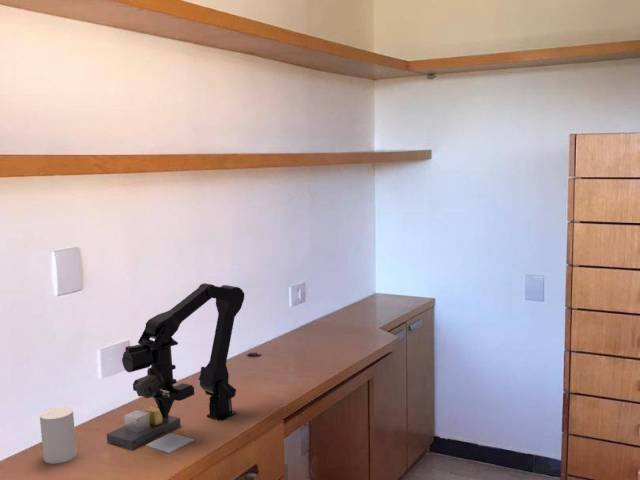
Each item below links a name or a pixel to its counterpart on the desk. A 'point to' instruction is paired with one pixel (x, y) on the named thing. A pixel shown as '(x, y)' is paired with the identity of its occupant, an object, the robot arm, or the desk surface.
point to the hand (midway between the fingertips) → (165, 417)
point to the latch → (154, 415)
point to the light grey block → (137, 421)
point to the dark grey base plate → (142, 433)
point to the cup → (58, 435)
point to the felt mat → (169, 443)
